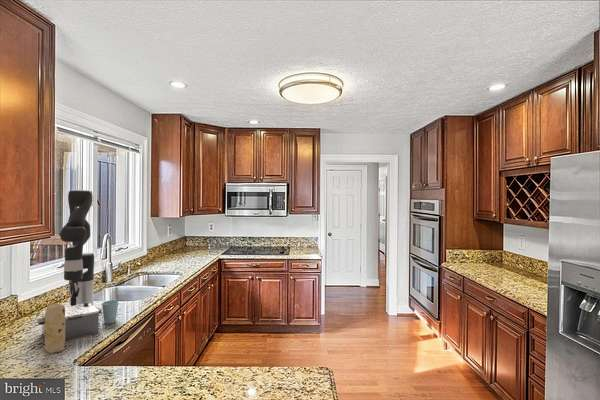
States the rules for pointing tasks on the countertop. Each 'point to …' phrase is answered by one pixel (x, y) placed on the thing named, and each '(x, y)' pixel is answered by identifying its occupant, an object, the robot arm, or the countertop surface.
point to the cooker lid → (78, 311)
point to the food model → (55, 328)
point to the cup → (110, 311)
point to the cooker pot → (77, 326)
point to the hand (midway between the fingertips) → (73, 305)
